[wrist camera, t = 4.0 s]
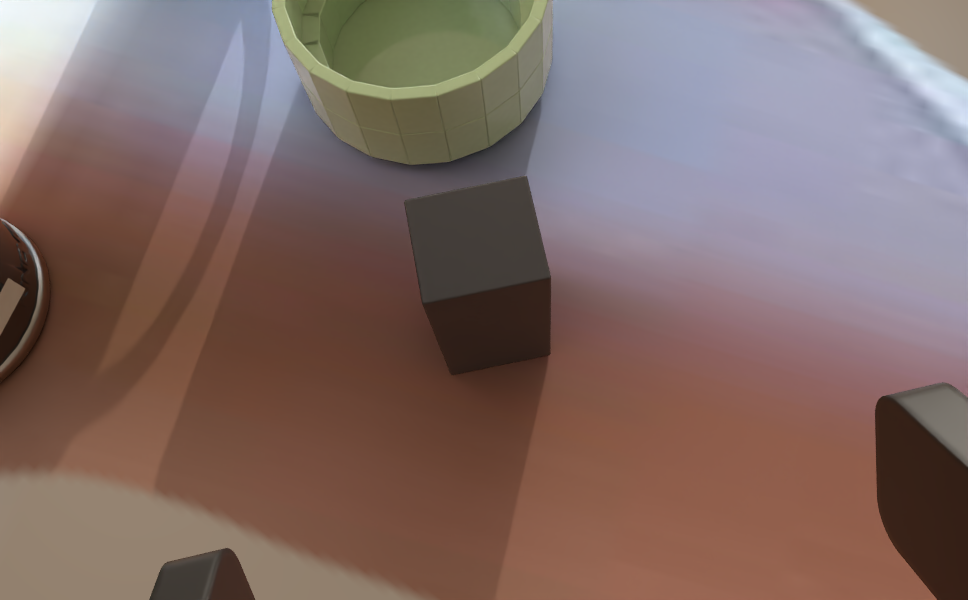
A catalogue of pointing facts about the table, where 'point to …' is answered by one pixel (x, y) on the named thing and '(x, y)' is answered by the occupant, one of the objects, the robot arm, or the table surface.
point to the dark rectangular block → (482, 273)
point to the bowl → (419, 70)
